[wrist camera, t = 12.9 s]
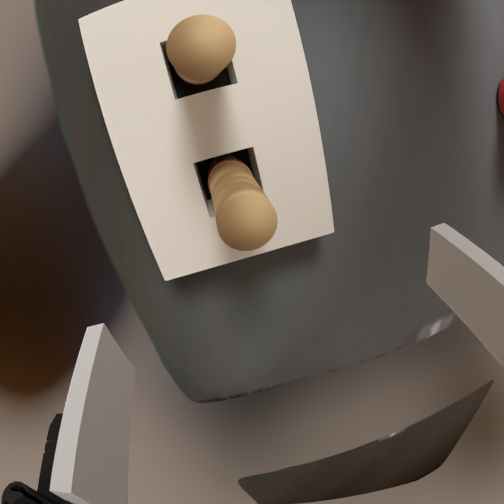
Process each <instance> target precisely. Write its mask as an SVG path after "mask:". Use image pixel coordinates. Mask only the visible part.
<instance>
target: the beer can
mask: <svg viewBox="0 0 504 504" xmlns="http://www.w3.org/2000/svg"><path fill="white" fill-rule="evenodd" d="M498 102H499V107H500V110H501V112H502V114H503V116H504V79H503V80H502V81H501V83H500V86H499V90H498Z"/></svg>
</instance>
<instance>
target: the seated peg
mask: <svg viewBox="0 0 504 504" xmlns="http://www.w3.org/2000/svg"><path fill="white" fill-rule="evenodd" d="M235 51H236V38H235V35H234V32H233V30H232V29H231V27H230V26H229V25H228V24H227V23H226V22H225V21H223V20H221V19H220V18H218V17H215V16H212V15H203V14H202V15H194V16H191V17H188V18H186V19H184V20H182V21H180V22H179V23H178V24H177V25H176V26H175V27H174V28H173V29H172V30H171V32H170V34H169V36H168V39H167V43H166V52H167V56H168V59H169V61H170V63H171V64H172V65H173V67H174V68H175V70H176V72H177V74H178V76H179V77H180V78H181V79H182V80H184V81H185V82H188V83H190V84H196V85H199V84H205V83H208V82H210V81H212V80H213V79H214V78H216V77H217V76H218V74H219V73H220V72H221V71H222V70H223V69H224V68H225V67H226V66H227V65H228V64H229V63H230V62H231V60H232V59H233V57H234V54H235Z"/></svg>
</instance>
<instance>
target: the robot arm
mask: <svg viewBox="0 0 504 504" xmlns="http://www.w3.org/2000/svg"><path fill="white" fill-rule="evenodd" d="M426 283H427V284H428V285H429V286H430V287H431V288H432V289H433V290H434V291H435V292H436V293H437V294H438V296H439V297H440V298H441V299H442V300H443V301H444V302H445V303H446V304H447V305H448V306H449V307H450V308H451V309H452V310H453V311H454V312H455V313H456V314H457V316H458V317H459V318H460V319H461V320H462V321H463V322H464V323H465V324H466V325H467V326H468V328H469V329H470V330H471V331H472V332H473V333H474V334H475V335H476V336H477V337H478V339H479V340H480V341H481V342H482V343H483V344H484V345H485V347H486V348H487V349H488V350H489V351H490V353H491V354H492V355H493V356H494V357H495V358H496V359H497V361H498V362H499V363H500V364H501V366H502V367H503V368H504V267H503V266H502V265H501V264H500V263H498V262H497V261H496V260H494V259H493V258H492V257H491V256H489V255H488V254H487V253H485V252H484V251H483V250H481V249H480V248H479V247H477V246H476V245H475V244H473V243H472V242H471V241H469V240H468V239H467V238H465V237H464V236H463V235H461V234H460V233H458V232H457V231H455V230H454V229H453V228H451V227H450V226H448V225H447V224H445V223H442V224H440V225H437V226H434V227H431V232H430V247H429V260H428V270H427V280H426ZM134 381H135V369H134V368H133V367H132V365H131V364H130V362H129V361H128V359H127V358H126V356H125V355H124V354H123V352H122V351H121V349H120V348H119V346H118V345H117V343H116V342H115V340H114V339H113V337H112V335H111V334H110V332H109V331H108V329H107V328H106V326H105V324H104V323H103V324H99V325H95V326H91V327H87V330H86V333H85V336H84V339H83V342H82V345H81V349H80V352H79V355H78V359H77V362H76V366H75V369H74V373H73V377H72V380H71V384H70V388H69V392H68V396H67V400H66V404H65V408H64V412H63V414H56V416H55V418H54V419H53V421H52V423H51V425H50V427H49V431H48V436H47V442H46V445H45V453H44V455H43V460H42V466H41V472H40V478H39V484H38V490H37V492H36V491H35V490H33V489H32V488H30V487H29V486H27V485H25V484H23V483H22V482H13V483H10V484H9V485H8V486H7V487H6V488H5V490H4V492H3V495H2V503H1V504H128V463H129V443H130V427H131V413H132V402H133V390H134Z"/></svg>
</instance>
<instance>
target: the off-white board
mask: <svg viewBox="0 0 504 504" xmlns="http://www.w3.org/2000/svg"><path fill="white" fill-rule="evenodd" d="M202 14H203V15H212V16H215V17H218V18H220V19H221V20H223V21H225V22H226V23H227V24H228V25H229V26H230V27H231V29H232V30H233V32H234V35H235V38H236V51H235V54H234V57H233V59H232V60H231V62H230V63H229V64H228V65H227V70H228V74H229V78H230V82H231V85H228V86H224V87H220V88H216V89H212V90H208V91H204V92H201V93H197V94H193V95H190V96H186V97H183V98H180V99H178V97H177V93H176V90H175V86H174V83H173V79H172V75H171V72H170V68H169V64H168V60H167V57H166V53H165V50H166V43H167V39H168V36H169V34H170V32H171V30H172V29H173V28H174V27H175V26H176V25H177V24H178V23H179V22H180V21H182V20H184V19H186V18H188V17H191V16H194V15H202ZM78 21H79V26H80V30H81V34H82V39H83V43H84V47H85V51H86V55H87V59H88V63H89V67H90V71H91V75H92V78H93V82H94V86H95V89H96V93H97V96H98V100H99V103H100V106H101V110H102V113H103V116H104V120H105V123H106V126H107V129H108V132H109V135H110V139H111V142H112V145H113V148H114V151H115V154H116V157H117V160H118V162H119V165H120V168H121V171H122V174H123V177H124V179H125V182H126V185H127V188H128V190H129V193H130V196H131V199H132V201H133V204H134V206H135V209H136V212H137V214H138V217H139V219H140V222H141V224H142V227H143V229H144V232H145V234H146V237H147V239H148V242H149V244H150V247H151V249H152V251H153V254H154V256H155V259H156V261H157V263H158V266H159V268H160V270H161V273H162V275H163V277H164V279H165V281H167V280H171V279H174V278H178V277H181V276H185V275H188V274H192V273H195V272H199V271H202V270H206V269H209V268H213V267H216V266H220V265H223V264H227V263H230V262H234V261H237V260H241V259H244V258H247V257H251V256H254V255H258V254H261V253H265V252H268V251H272V250H275V249H279V248H282V247H286V246H289V245H292V244H296V243H299V242H303V241H306V240H310V239H313V238H317V237H320V236H323V235H327V234H330V233H334V224H333V216H332V208H331V200H330V193H329V185H328V178H327V172H326V165H325V159H324V152H323V146H322V140H321V135H320V129H319V123H318V118H317V112H316V107H315V102H314V97H313V92H312V87H311V82H310V77H309V73H308V68H307V64H306V59H305V55H304V51H303V46H302V42H301V38H300V34H299V30H298V26H297V22H296V18H295V14H294V11H293V7H292V3H291V0H124V1H121V2H119V3H116V4H113V5H111V6H108V7H106V8H103V9H101V10H98V11H96V12H94V13H91V14H89V15H87V16H85V17H82V18H80V19H78ZM246 148H247V151H248V155H249V159H250V163H251V167H252V171H253V175H254V179H255V180H256V182H257V183H258V185H259V186H260V188H261V189H262V191H263V192H264V193H265V195H266V196H267V198H268V199H269V201H270V202H271V204H272V205H273V207H274V208H275V211H276V213H277V218H278V224H277V229H276V232H275V234H274V235H273V237H272V238H271V240H270V241H269V242H268V243H266V244H265V245H264V246H262V247H260V248H258V249H255V250H251V251H239V250H236V249H233V248H231V247H229V246H228V245H226V244H225V243H224V242H223V240H222V239H221V237H220V236H219V233H218V229H217V224H216V219H215V213H214V208H213V202H212V199H210V200H207V197H206V194H205V191H204V187H203V184H202V181H201V177H200V174H199V170H198V167H197V164H196V162H199V161H202V160H206V159H209V158H213V157H216V156H220V155H223V154H227V153H231V152H234V151H238V150H242V149H246Z"/></svg>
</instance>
